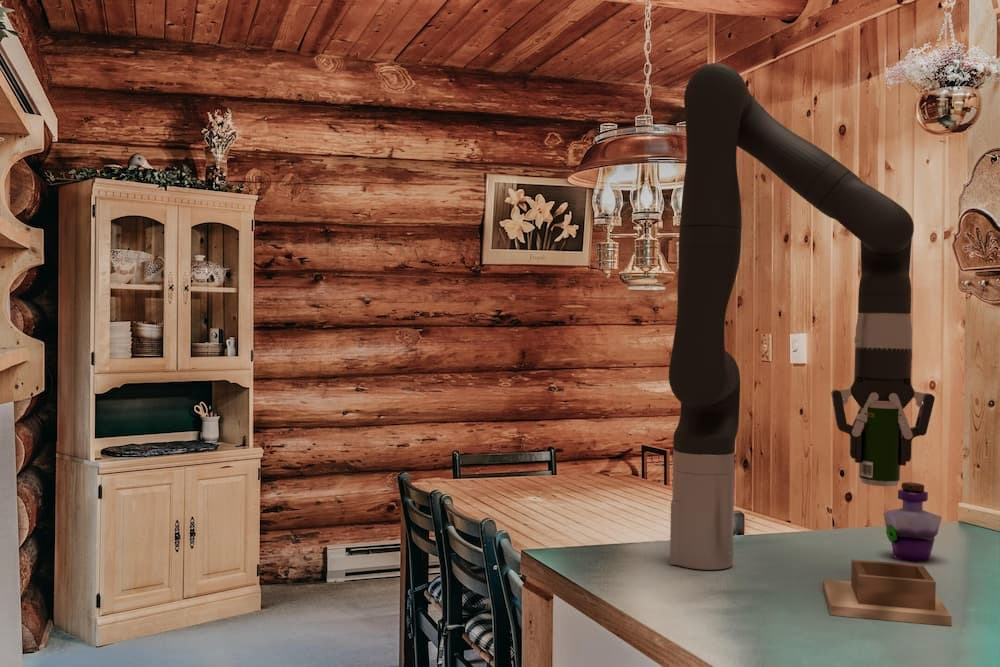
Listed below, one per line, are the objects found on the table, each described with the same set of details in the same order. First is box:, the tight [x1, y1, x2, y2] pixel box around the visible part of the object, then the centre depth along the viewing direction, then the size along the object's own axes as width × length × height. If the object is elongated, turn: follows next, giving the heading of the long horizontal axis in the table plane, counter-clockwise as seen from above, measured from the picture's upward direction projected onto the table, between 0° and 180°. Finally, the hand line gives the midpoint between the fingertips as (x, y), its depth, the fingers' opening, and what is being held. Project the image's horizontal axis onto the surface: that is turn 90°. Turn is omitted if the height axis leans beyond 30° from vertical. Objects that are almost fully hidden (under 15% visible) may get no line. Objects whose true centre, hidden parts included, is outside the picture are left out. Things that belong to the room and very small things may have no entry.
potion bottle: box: [883, 481, 942, 563], centre depth 148 cm, size 9×9×12 cm
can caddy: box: [822, 559, 953, 627], centre depth 122 cm, size 14×13×5 cm
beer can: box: [858, 400, 901, 487], centre depth 133 cm, size 5×5×12 cm
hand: (879, 463), depth 133 cm, fingers closed on beer can, 5 cm apart
